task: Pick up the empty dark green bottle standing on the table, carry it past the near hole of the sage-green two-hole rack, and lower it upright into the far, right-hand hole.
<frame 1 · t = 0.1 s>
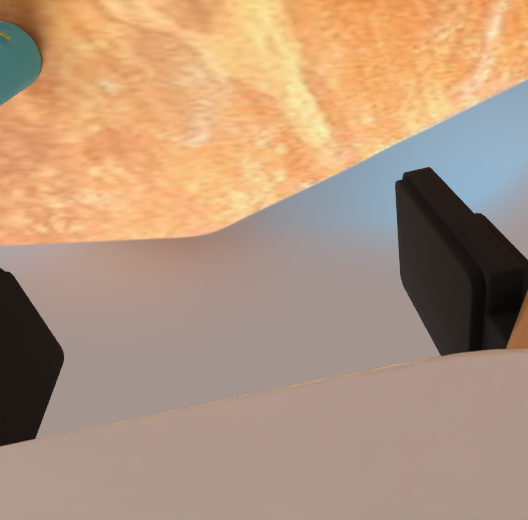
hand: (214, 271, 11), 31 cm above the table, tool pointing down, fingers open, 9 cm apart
tube: (8, 52, 36), on the table
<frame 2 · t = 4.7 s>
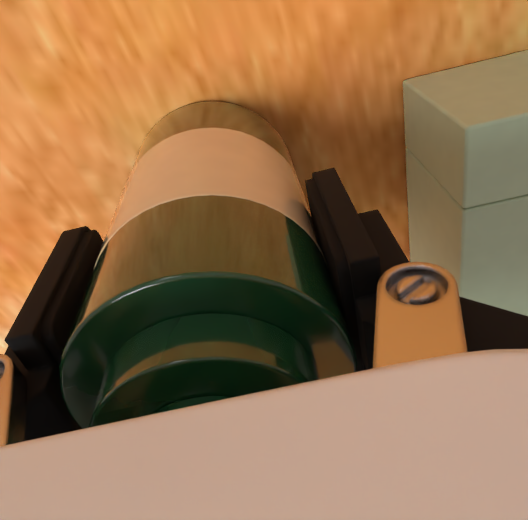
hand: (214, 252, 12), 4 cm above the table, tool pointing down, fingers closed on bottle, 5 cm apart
bottle: (215, 179, 16), on the table, touching gripper
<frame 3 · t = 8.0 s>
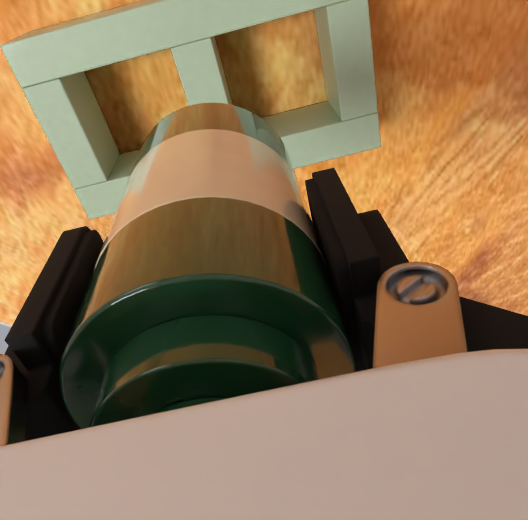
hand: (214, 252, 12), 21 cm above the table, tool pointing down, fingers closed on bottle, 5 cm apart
rack: (208, 81, 30), on the table
bottle: (215, 180, 16), point 17 cm above the table, touching gripper
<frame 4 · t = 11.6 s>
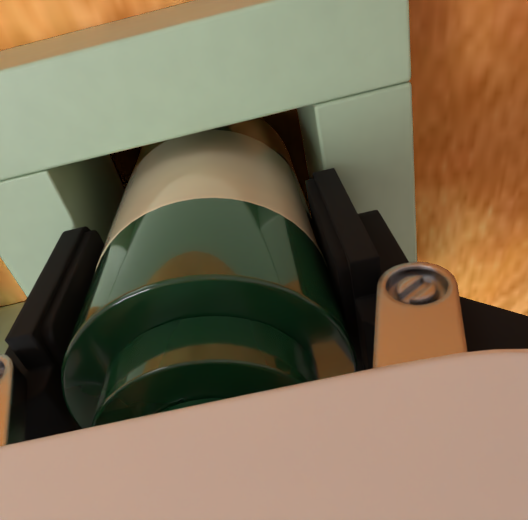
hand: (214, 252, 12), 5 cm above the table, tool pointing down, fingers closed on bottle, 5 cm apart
rack: (99, 207, 16), on the table
bottle: (216, 180, 16), resting in rack, touching gripper
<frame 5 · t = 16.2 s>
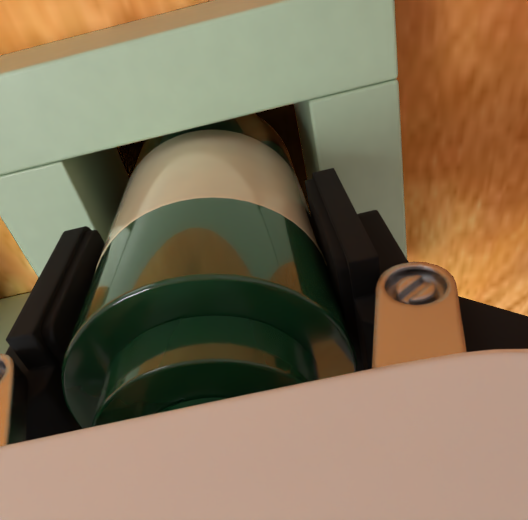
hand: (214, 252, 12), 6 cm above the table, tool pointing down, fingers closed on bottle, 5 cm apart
rack: (106, 199, 17), on the table
bottle: (216, 180, 16), point 1 cm above the table, touching gripper
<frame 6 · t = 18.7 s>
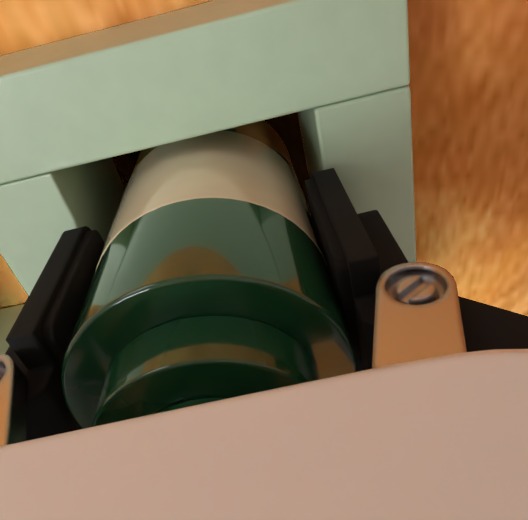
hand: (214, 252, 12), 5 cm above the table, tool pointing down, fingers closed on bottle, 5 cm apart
rack: (101, 209, 16), on the table
bottle: (216, 180, 16), resting in rack, touching gripper
when the fingers open (6 cm above the table, at t = 20.6 s): bottle drops 2 cm, resting in rack.
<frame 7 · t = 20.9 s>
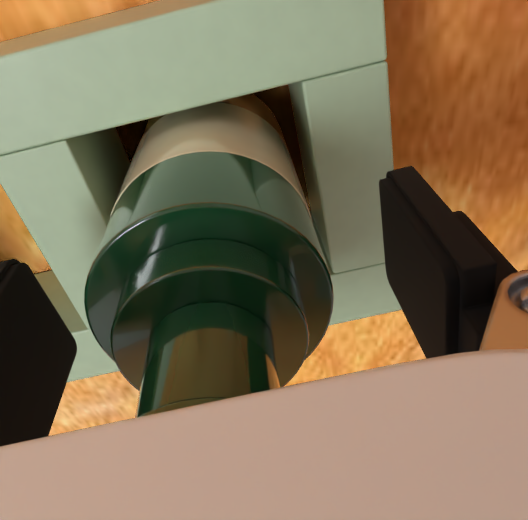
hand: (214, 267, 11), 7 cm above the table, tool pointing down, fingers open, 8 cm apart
rack: (107, 183, 17), on the table
bottle: (214, 154, 17), resting in rack
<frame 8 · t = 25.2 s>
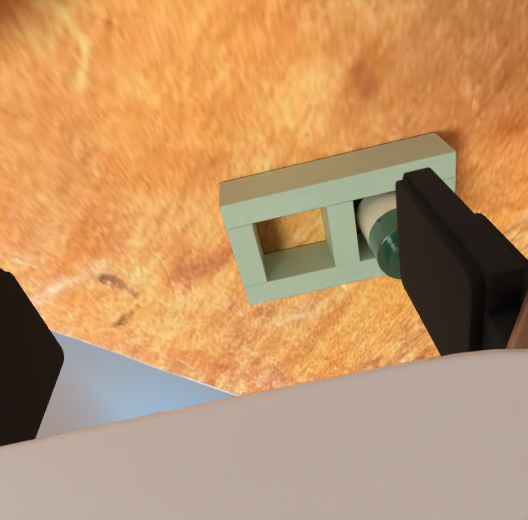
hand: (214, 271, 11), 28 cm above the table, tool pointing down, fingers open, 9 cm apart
rack: (333, 210, 43), on the table
bottle: (377, 198, 43), resting in rack
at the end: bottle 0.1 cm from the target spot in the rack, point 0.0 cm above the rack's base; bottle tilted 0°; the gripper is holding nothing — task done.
